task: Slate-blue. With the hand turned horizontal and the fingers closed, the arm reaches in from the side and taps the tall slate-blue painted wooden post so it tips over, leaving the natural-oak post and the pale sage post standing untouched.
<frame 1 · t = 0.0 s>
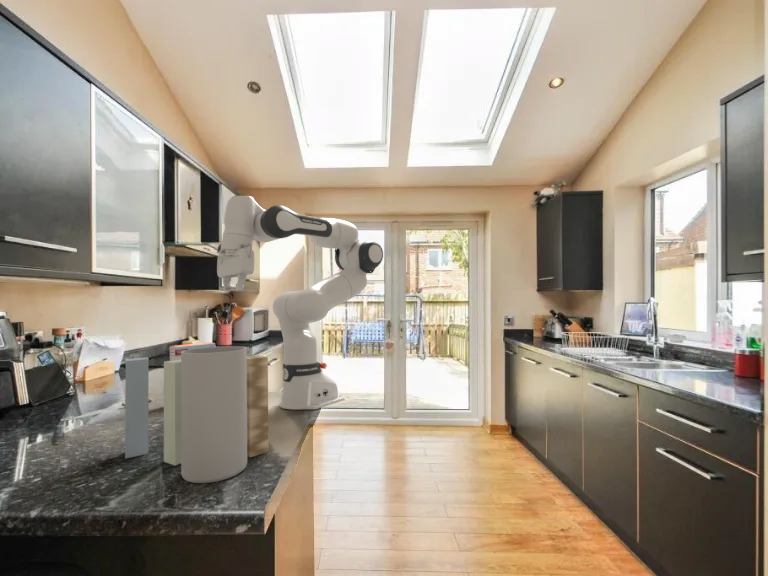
hand: (233, 290, 118), 39 cm above the counter, tool pointing down, fingers open, 8 cm apart
post slate: (136, 453, 91), on the counter
knife: (111, 412, 131), on the counter
post sage: (179, 459, 86), on the counter
cylinder vase: (215, 472, 80), on the counter
cracker box: (193, 403, 139), on the counter
post oak: (255, 452, 90), on the counter
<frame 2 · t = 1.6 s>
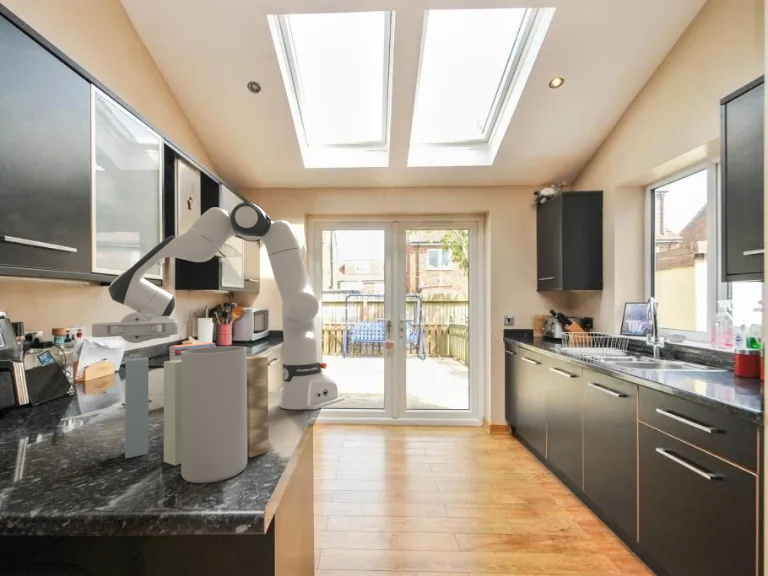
hand: (137, 329, 102), 28 cm above the counter, tool horizontal, fingers open, 7 cm apart
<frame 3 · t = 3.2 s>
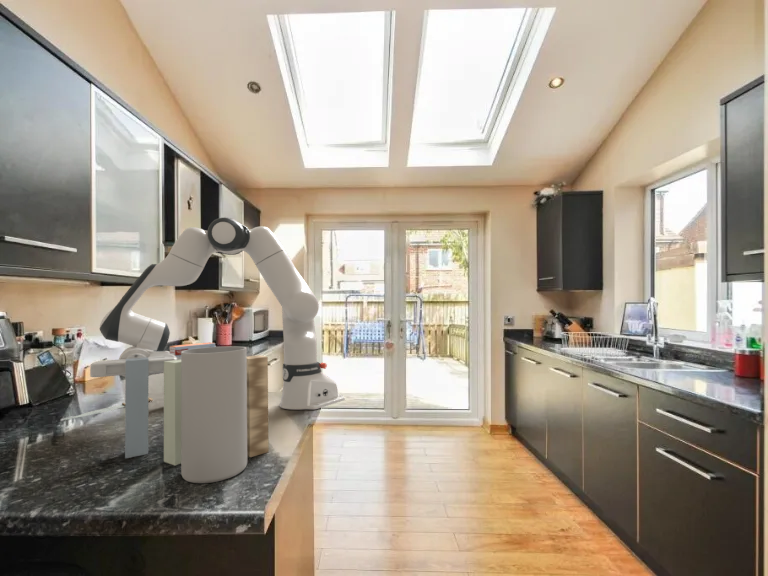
hand: (135, 369, 102), 18 cm above the counter, tool horizontal, fingers closed
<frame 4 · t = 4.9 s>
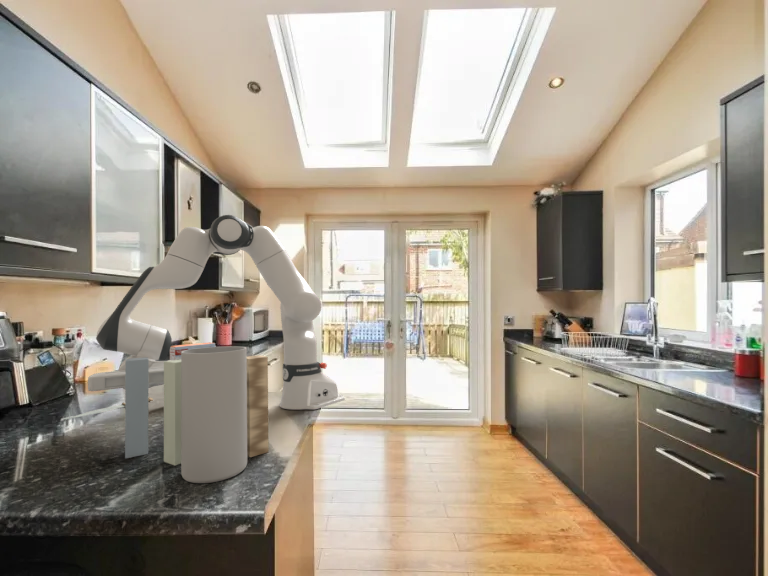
hand: (137, 382, 94), 16 cm above the counter, tool horizontal, fingers closed
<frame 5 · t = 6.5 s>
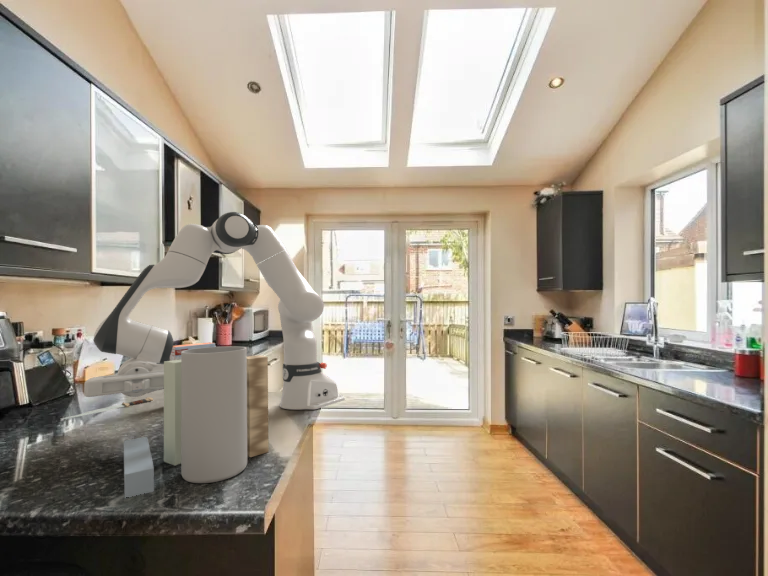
hand: (137, 387, 88), 16 cm above the counter, tool horizontal, fingers closed
post slate: (135, 448, 89), point 2 cm above the counter, tilted 90°
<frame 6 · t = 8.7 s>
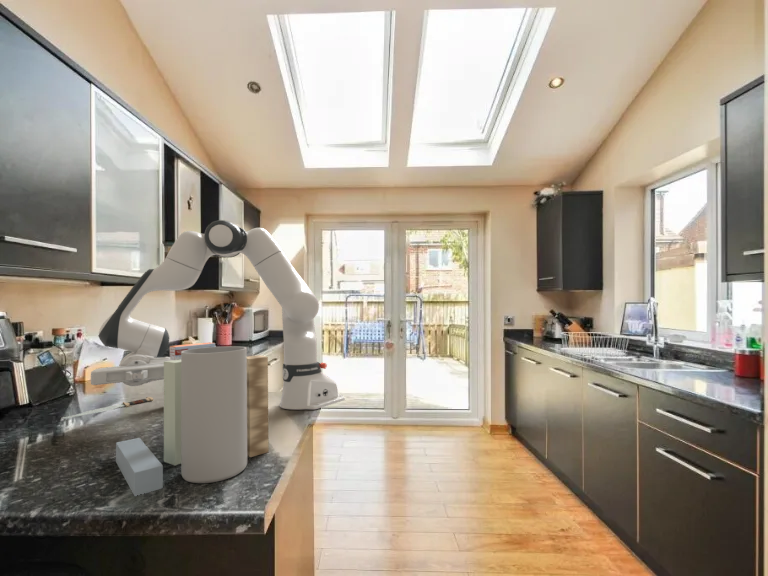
hand: (136, 377, 101), 16 cm above the counter, tool horizontal, fingers closed
post slate: (127, 450, 88), point 2 cm above the counter, tilted 90°
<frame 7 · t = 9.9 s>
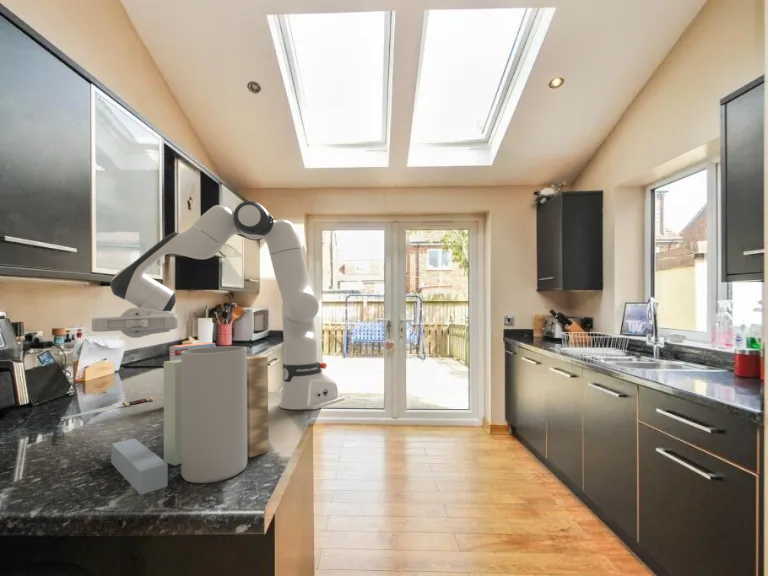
hand: (137, 323, 103), 30 cm above the counter, tool horizontal, fingers closed
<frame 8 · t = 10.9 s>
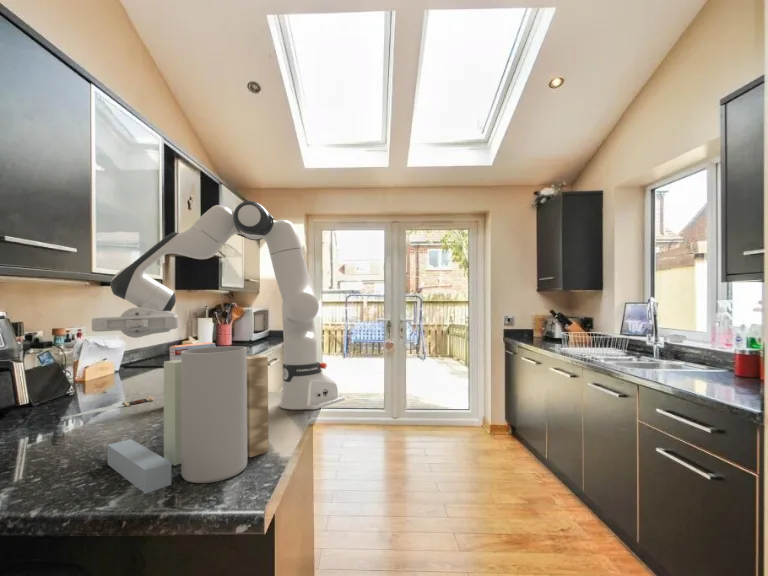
hand: (137, 323, 103), 30 cm above the counter, tool horizontal, fingers closed
at the end: post slate tilted 90°; post sage moved 0.0 cm from its start; post oak moved 0.0 cm from its start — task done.
